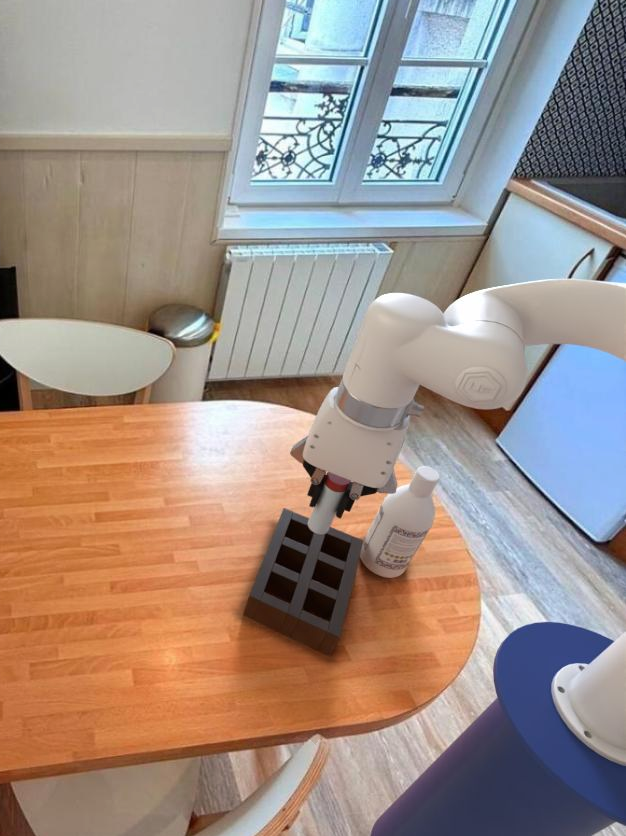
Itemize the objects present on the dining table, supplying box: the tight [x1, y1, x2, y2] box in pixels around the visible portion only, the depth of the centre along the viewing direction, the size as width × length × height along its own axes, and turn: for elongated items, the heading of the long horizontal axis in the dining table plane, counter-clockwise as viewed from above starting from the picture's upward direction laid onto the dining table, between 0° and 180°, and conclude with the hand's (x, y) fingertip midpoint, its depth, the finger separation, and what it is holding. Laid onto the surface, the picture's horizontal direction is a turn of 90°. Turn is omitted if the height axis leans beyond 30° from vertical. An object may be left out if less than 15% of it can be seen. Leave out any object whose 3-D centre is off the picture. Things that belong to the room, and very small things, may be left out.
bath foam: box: [359, 465, 441, 579], centre depth 89 cm, size 7×7×20 cm
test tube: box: [308, 471, 352, 534], centre depth 80 cm, size 3×3×10 cm
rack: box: [242, 507, 364, 657], centre depth 90 cm, size 12×18×5 cm
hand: (327, 504), depth 80 cm, fingers closed on test tube, 2 cm apart
